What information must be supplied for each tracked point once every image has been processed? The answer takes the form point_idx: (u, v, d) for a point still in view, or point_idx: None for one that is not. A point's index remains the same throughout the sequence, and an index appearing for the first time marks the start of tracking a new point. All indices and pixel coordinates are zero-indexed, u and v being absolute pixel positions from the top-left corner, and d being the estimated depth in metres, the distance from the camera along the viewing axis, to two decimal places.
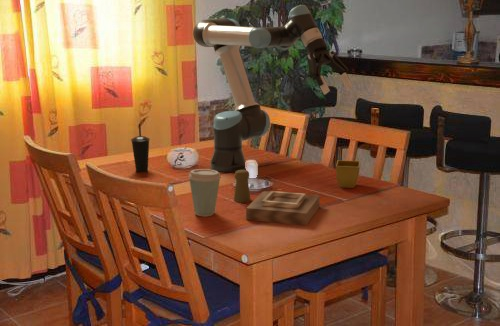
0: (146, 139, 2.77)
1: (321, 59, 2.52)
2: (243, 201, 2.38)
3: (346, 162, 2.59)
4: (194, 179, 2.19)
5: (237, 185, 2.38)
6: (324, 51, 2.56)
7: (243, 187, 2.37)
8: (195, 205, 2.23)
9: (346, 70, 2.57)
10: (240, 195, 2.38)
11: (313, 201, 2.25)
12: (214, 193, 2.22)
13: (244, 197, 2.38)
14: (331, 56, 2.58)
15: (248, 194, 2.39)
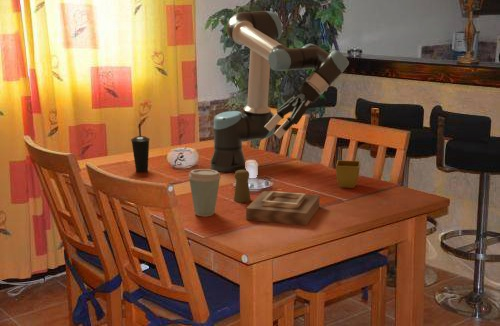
0: (146, 139, 2.77)
1: None
2: (243, 201, 2.38)
3: (346, 162, 2.59)
4: (194, 179, 2.19)
5: (237, 185, 2.38)
6: None
7: (243, 187, 2.37)
8: (195, 205, 2.23)
9: (283, 117, 2.45)
10: (240, 195, 2.38)
11: (313, 201, 2.25)
12: (214, 193, 2.22)
13: (244, 197, 2.38)
14: None
15: (248, 194, 2.39)
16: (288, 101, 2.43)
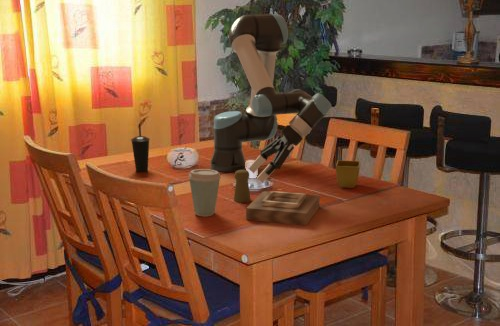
0: (146, 139, 2.77)
1: None
2: (243, 201, 2.38)
3: (346, 162, 2.59)
4: (194, 179, 2.19)
5: (237, 185, 2.38)
6: None
7: (243, 187, 2.37)
8: (195, 205, 2.23)
9: None
10: (240, 195, 2.38)
11: (313, 201, 2.25)
12: (214, 193, 2.22)
13: (244, 197, 2.38)
14: None
15: (248, 194, 2.39)
16: (271, 143, 2.44)
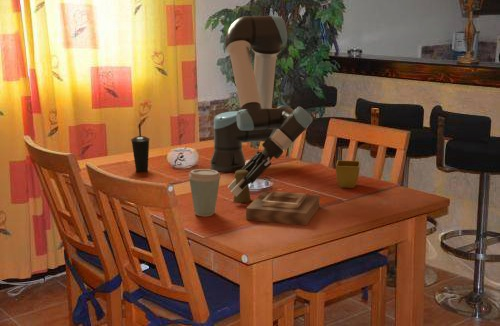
0: (146, 139, 2.77)
1: None
2: (243, 201, 2.38)
3: (346, 162, 2.59)
4: (194, 179, 2.19)
5: None
6: None
7: None
8: (195, 205, 2.23)
9: None
10: (240, 195, 2.38)
11: (313, 201, 2.25)
12: (214, 193, 2.22)
13: (244, 197, 2.38)
14: None
15: (248, 194, 2.39)
16: (251, 159, 2.43)
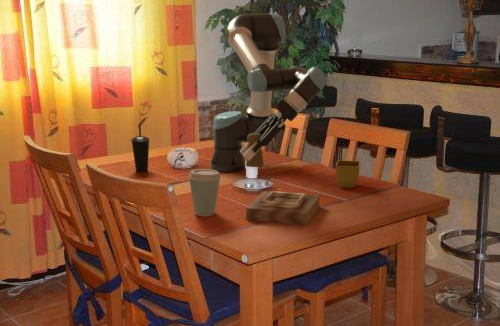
0: (146, 139, 2.77)
1: None
2: (256, 165, 2.28)
3: (346, 162, 2.59)
4: (194, 179, 2.19)
5: None
6: None
7: None
8: (195, 205, 2.23)
9: None
10: (253, 159, 2.28)
11: (313, 201, 2.25)
12: (214, 193, 2.22)
13: (257, 161, 2.28)
14: None
15: (261, 158, 2.29)
16: (265, 122, 2.34)
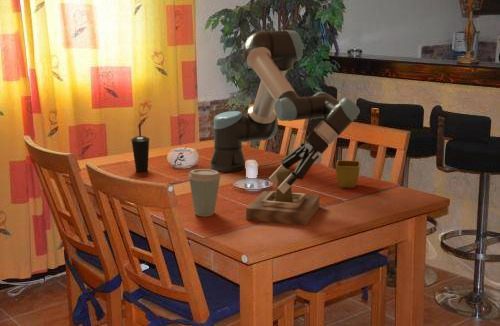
0: (146, 139, 2.77)
1: None
2: None
3: (346, 162, 2.59)
4: (194, 179, 2.19)
5: (279, 185, 2.23)
6: None
7: None
8: (195, 205, 2.23)
9: (288, 169, 2.30)
10: (282, 196, 2.22)
11: (313, 201, 2.25)
12: (214, 193, 2.22)
13: (286, 198, 2.22)
14: None
15: (290, 195, 2.24)
16: (294, 151, 2.29)
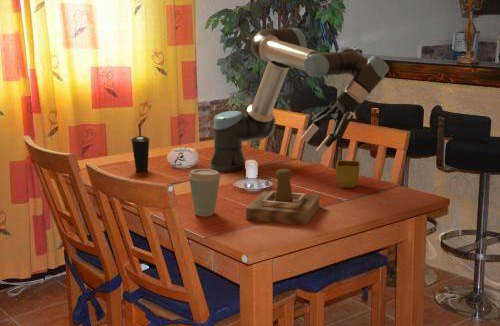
0: (146, 139, 2.77)
1: None
2: None
3: (346, 162, 2.59)
4: (194, 179, 2.19)
5: (279, 185, 2.23)
6: None
7: (286, 188, 2.22)
8: (195, 205, 2.23)
9: (319, 126, 2.33)
10: (282, 196, 2.22)
11: (313, 201, 2.25)
12: (214, 193, 2.22)
13: (286, 198, 2.22)
14: None
15: (290, 195, 2.24)
16: (325, 110, 2.31)
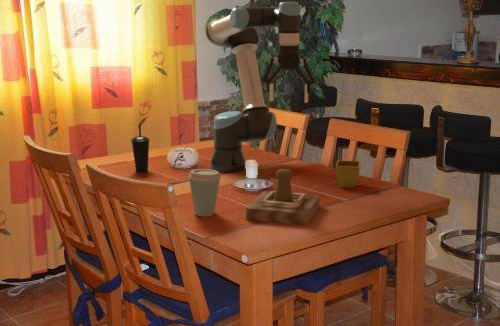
0: (146, 139, 2.76)
1: None
2: None
3: (346, 162, 2.59)
4: (194, 179, 2.19)
5: (279, 185, 2.23)
6: None
7: (286, 188, 2.22)
8: (195, 205, 2.23)
9: (270, 81, 2.57)
10: (282, 196, 2.22)
11: (313, 201, 2.25)
12: (214, 193, 2.22)
13: (286, 198, 2.22)
14: None
15: (290, 195, 2.24)
16: (270, 68, 2.53)
